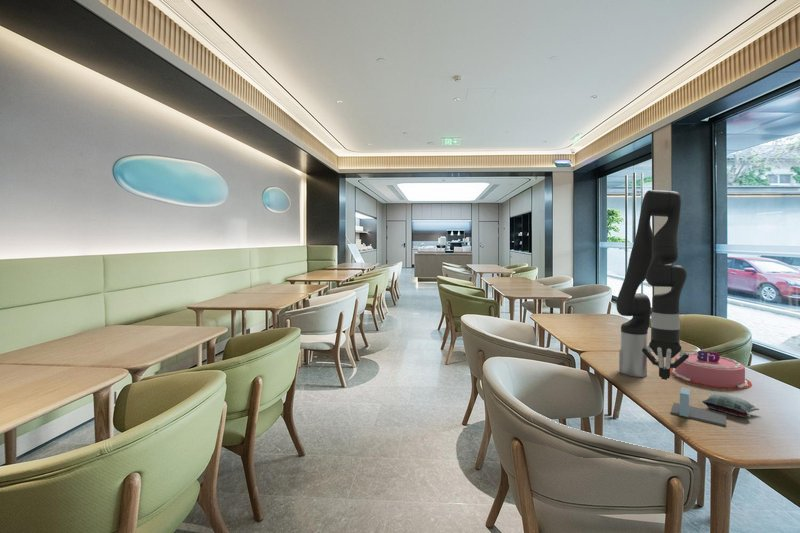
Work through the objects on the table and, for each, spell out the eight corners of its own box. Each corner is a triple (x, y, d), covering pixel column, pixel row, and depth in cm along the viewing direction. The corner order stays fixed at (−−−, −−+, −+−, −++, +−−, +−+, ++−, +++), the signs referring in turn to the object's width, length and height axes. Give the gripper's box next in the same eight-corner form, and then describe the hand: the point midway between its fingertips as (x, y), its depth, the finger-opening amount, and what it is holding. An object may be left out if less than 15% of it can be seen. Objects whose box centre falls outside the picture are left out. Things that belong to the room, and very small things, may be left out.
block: (681, 408, 116) (679, 415, 112) (681, 387, 116) (679, 392, 111) (689, 410, 115) (688, 417, 110) (690, 388, 114) (689, 394, 110)
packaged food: (711, 401, 122) (712, 387, 122) (759, 415, 112) (760, 399, 112) (700, 408, 118) (701, 393, 117) (750, 423, 108) (750, 407, 107)
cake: (741, 373, 148) (741, 348, 148) (761, 395, 127) (762, 365, 126) (665, 364, 161) (666, 340, 161) (673, 382, 140) (673, 355, 139)
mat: (670, 413, 114) (670, 411, 114) (673, 404, 121) (673, 402, 121) (726, 426, 105) (726, 424, 105) (726, 415, 112) (726, 413, 112)
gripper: (639, 325, 119) (638, 377, 120) (690, 331, 110) (689, 387, 111) (642, 322, 125) (642, 371, 125) (691, 326, 116) (691, 380, 117)
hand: (664, 378), depth 118 cm, fingers closed
